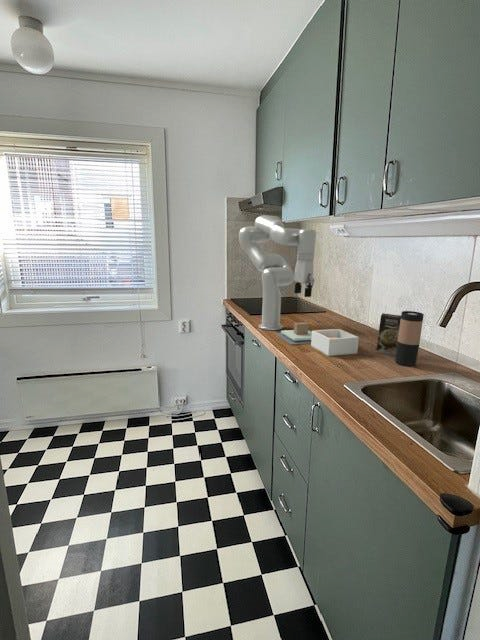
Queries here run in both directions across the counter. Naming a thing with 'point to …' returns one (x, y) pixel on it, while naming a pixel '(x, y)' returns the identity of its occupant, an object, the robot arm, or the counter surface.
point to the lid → (299, 332)
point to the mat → (292, 340)
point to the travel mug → (409, 338)
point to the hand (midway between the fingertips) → (302, 294)
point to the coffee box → (388, 334)
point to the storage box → (334, 342)
